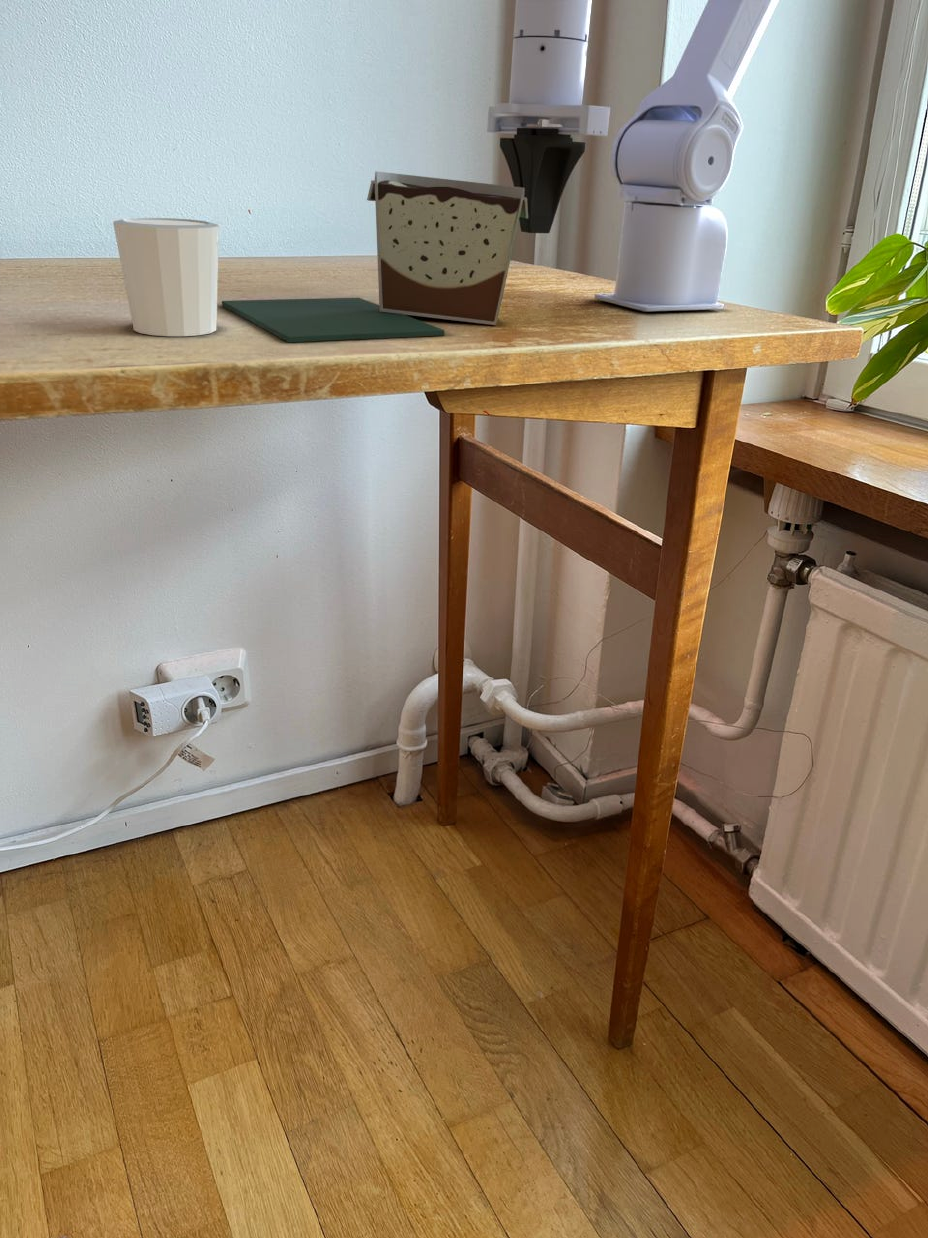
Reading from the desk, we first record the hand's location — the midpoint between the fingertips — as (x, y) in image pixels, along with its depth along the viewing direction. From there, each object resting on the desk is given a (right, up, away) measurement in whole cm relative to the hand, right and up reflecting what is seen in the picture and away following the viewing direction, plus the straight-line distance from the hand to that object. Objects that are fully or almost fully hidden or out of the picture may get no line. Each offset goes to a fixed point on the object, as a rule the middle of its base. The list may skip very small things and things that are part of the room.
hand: (535, 232), depth 78 cm
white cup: (-26, -12, -12) cm, 31 cm away
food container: (-8, -7, -1) cm, 11 cm away
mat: (-16, -9, -5) cm, 20 cm away
